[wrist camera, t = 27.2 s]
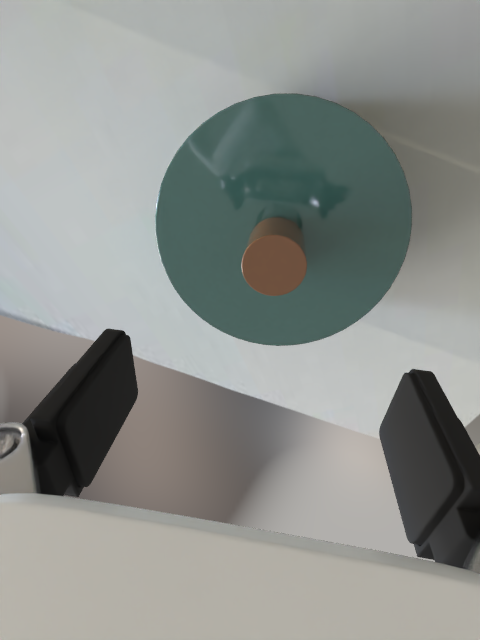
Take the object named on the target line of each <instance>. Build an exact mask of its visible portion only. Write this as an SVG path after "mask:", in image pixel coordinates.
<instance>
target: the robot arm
mask: <svg viewBox="0 0 480 640" xmlns="http://www.w3.org/2000/svg"><path fill="white" fill-rule="evenodd" d="M137 395H138V388H137V381H136V375H135V368H134V361H133V354H132V347H131V341H130V337H129V336H128V335H126V334H125V332H124V331H122V330H114V329H106V330H105V331H104V332H103V333H102V334H101V335H100V336H99V338H98V339H97V340H96V341H95V342H94V343H93V345H92V346H91V347H90V348H89V349H88V350H87V352H86V353H85V354H84V355H83V356H82V357H81V358H80V360H79V361H78V362H77V363H76V364H74V365H73V366H72V367H71V368H70V369H69V370H68V372H67V373H66V374H65V375H64V376H63V377H62V379H61V380H60V381H59V382H58V383H57V384H56V386H55V387H54V388H53V389H52V390H51V391H50V392H49V394H48V395H47V396H46V397H45V398H44V399H43V400H42V402H41V403H40V404H39V405H38V406H37V407H36V408H35V410H34V411H33V412H32V413H31V414H30V415H29V417H28V418H27V419H26V420H25V421H24V422H23V423H22V424H20V423H16V422H6V423H1V424H0V640H480V455H479V453H478V452H477V450H476V448H475V446H474V444H473V442H472V441H471V439H470V437H469V435H468V433H467V431H466V430H465V428H464V426H463V424H462V422H461V421H460V420H459V418H457V416H456V414H455V412H454V410H453V408H452V407H451V405H450V403H449V401H448V399H447V397H446V396H445V394H444V392H443V390H442V388H441V386H440V384H439V383H438V381H437V379H436V377H435V375H434V374H433V373H432V372H431V371H423V370H416V369H412V370H411V371H410V372H409V373H405V374H404V375H403V377H402V379H401V381H400V383H399V386H398V388H397V390H396V392H395V394H394V397H393V399H392V401H391V403H390V406H389V408H388V410H387V412H386V415H385V417H384V419H383V421H382V424H381V426H380V431H379V434H380V440H381V443H382V447H383V450H384V454H385V458H386V461H387V466H388V469H389V473H390V477H391V480H392V484H393V487H394V492H395V495H396V499H397V503H398V506H399V510H400V513H401V517H402V521H403V524H404V528H405V532H406V536H407V539H408V541H409V542H410V543H413V544H414V546H415V550H416V553H417V556H418V557H422V558H428V559H433V560H435V562H433V561H427V560H423V559H418V558H412V557H407V556H402V555H397V554H392V553H387V552H383V551H377V550H372V549H366V548H360V547H355V546H350V545H344V544H339V543H333V542H328V541H322V540H316V539H311V538H306V537H300V536H294V535H289V534H284V533H278V532H272V531H266V530H261V529H256V528H250V527H244V526H239V525H233V524H227V523H221V522H216V521H210V520H204V519H199V518H193V517H187V516H181V515H175V514H169V513H164V512H158V511H152V510H146V509H140V508H135V507H129V506H123V505H117V504H111V503H105V502H98V501H91V500H85V499H78V498H71V497H64V496H63V495H64V494H65V495H70V496H76V497H79V495H80V493H81V491H82V489H83V488H84V487H88V486H89V485H90V484H91V482H92V480H93V478H94V477H95V475H96V473H97V471H98V469H99V467H100V466H101V463H102V462H103V460H104V458H105V456H106V454H107V453H108V451H109V449H110V447H111V445H112V444H113V442H114V440H115V438H116V436H117V434H118V433H119V431H120V429H121V427H122V425H123V423H124V422H125V420H126V418H127V416H128V414H129V412H130V410H131V409H132V407H133V405H134V403H135V401H136V399H137Z"/></svg>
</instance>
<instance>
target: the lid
mask: <svg viewBox="0 0 480 640" xmlns="http://www.w3.org/2000/svg"><path fill="white" fill-rule="evenodd" d="M155 223H156V238H157V245H158V250H159V254H160V257H161V261H162V264H163V266H164V269H165V271H166V274H167V276H168V278H169V279H170V281H171V283H172V285H173V287H174V288H175V290H176V291H177V293H178V294H179V295H180V297H181V298H182V299H183V301H184V302H185V303H186V304H187V305H188V306H189V307H190V308H191V309H192V310H193V311H194V312H195V313H196V314H197V315H198V316H199V317H201V318H202V319H203V320H205V321H206V322H207V323H209V324H210V325H212V326H213V327H215V328H217V329H219V330H220V331H222V332H224V333H226V334H228V335H231V336H233V337H236V338H238V339H242V340H245V341H248V342H253V343H258V344H263V345H276V346H281V345H297V344H304V343H309V342H313V341H317V340H320V339H323V338H326V337H328V336H331V335H333V334H335V333H338V332H340V331H342V330H344V329H346V328H347V327H349V326H350V325H352V324H353V323H355V322H357V321H358V320H359V319H361V318H362V317H363V316H364V315H366V314H367V313H368V312H369V311H370V310H371V309H372V308H373V307H374V306H375V305H376V304H377V303H378V302H379V301H380V300H381V299H382V297H383V296H384V295H385V294H386V292H387V291H388V290H389V288H390V287H391V285H392V283H393V282H394V280H395V278H396V277H397V275H398V273H399V271H400V268H401V266H402V264H403V261H404V259H405V256H406V252H407V249H408V245H409V241H410V234H411V227H412V206H411V199H410V192H409V188H408V184H407V181H406V178H405V175H404V171H403V169H402V167H401V165H400V163H399V161H398V159H397V157H396V155H395V153H394V152H393V150H392V149H391V148H390V146H389V145H388V143H387V142H386V141H385V139H384V138H383V137H382V136H381V135H380V134H379V133H378V132H377V131H376V130H375V129H374V128H373V127H372V126H371V125H370V124H369V123H368V122H367V121H365V120H364V119H362V118H361V117H360V116H358V115H357V114H356V113H354V112H353V111H351V110H349V109H347V108H345V107H343V106H341V105H339V104H337V103H335V102H331V101H328V100H325V99H322V98H319V97H316V96H309V95H302V94H270V95H264V96H258V97H254V98H251V99H248V100H245V101H242V102H239V103H236V104H234V105H232V106H230V107H228V108H226V109H224V110H222V111H220V112H218V113H217V114H215V115H214V116H212V117H211V118H210V119H208V120H207V121H205V122H204V123H203V124H201V125H200V126H199V127H198V128H197V129H196V130H195V131H194V132H193V133H192V134H191V135H190V136H189V137H188V138H187V139H186V141H185V142H184V143H183V145H182V146H181V147H180V148H179V150H178V151H177V152H176V154H175V156H174V158H173V159H172V161H171V163H170V165H169V166H168V168H167V171H166V173H165V176H164V178H163V181H162V183H161V187H160V191H159V195H158V199H157V207H156V215H155Z"/></svg>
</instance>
